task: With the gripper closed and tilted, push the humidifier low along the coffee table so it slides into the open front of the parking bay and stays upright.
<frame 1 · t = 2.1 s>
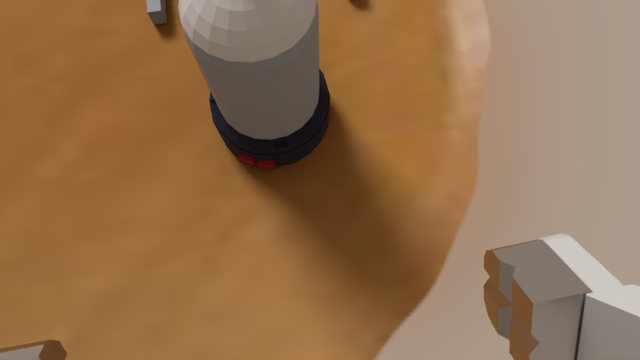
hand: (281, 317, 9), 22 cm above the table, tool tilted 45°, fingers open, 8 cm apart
humidifier: (273, 115, 34), on the table
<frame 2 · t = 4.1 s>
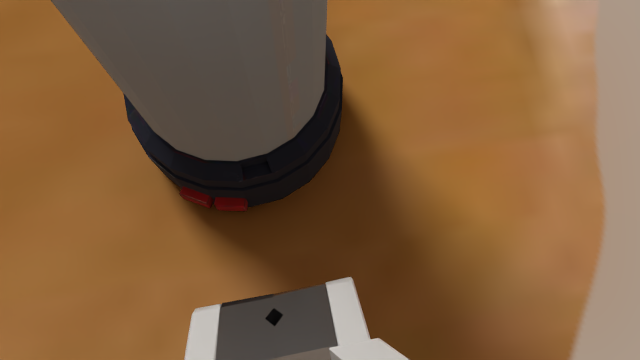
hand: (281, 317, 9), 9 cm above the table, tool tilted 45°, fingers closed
humidifier: (245, 116, 20), on the table
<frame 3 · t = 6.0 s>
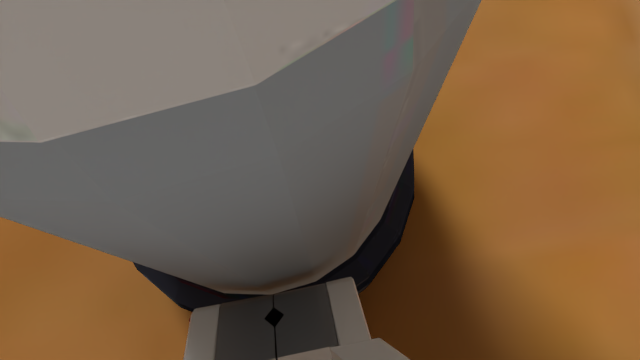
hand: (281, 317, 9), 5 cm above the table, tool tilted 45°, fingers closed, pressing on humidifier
humidifier: (274, 195, 15), on the table, touching gripper
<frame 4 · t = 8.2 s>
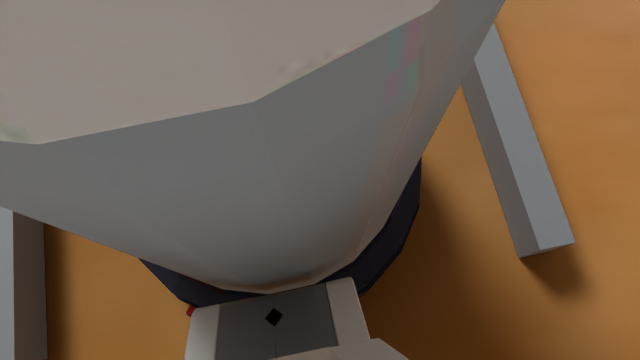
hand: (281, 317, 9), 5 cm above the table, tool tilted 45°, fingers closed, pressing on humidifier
humidifier: (280, 194, 15), on the table, touching gripper
parking bay: (250, 95, 16), on the table
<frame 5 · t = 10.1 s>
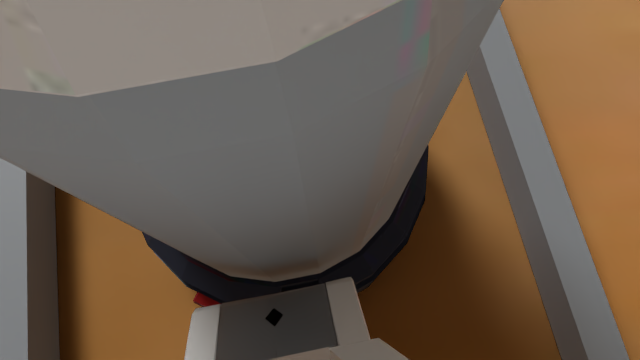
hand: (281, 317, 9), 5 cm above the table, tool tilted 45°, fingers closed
humidifier: (287, 186, 15), on the table
parking bay: (276, 182, 15), on the table
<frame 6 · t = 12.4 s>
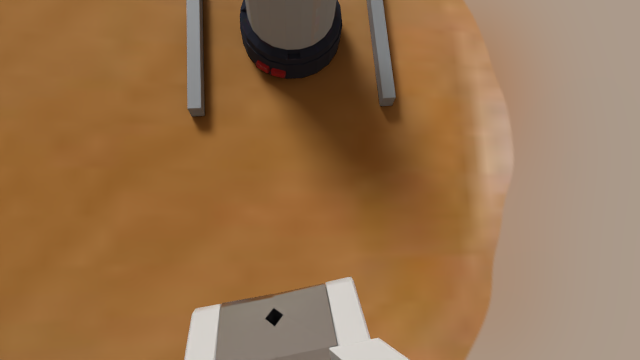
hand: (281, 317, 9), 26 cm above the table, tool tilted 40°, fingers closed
humidifier: (291, 36, 40), on the table
parking bay: (287, 33, 40), on the table
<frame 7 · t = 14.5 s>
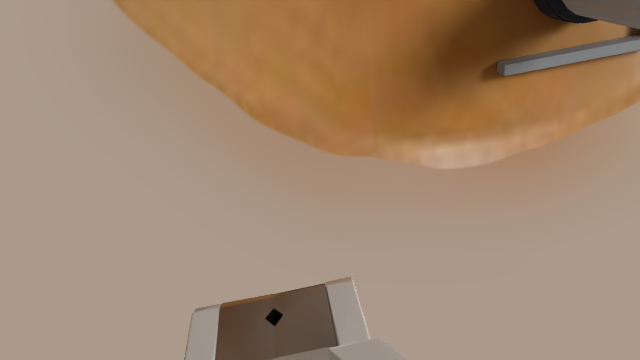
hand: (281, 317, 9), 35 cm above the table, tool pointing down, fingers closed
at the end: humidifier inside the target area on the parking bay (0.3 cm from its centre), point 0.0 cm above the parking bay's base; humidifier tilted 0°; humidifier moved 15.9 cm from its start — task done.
